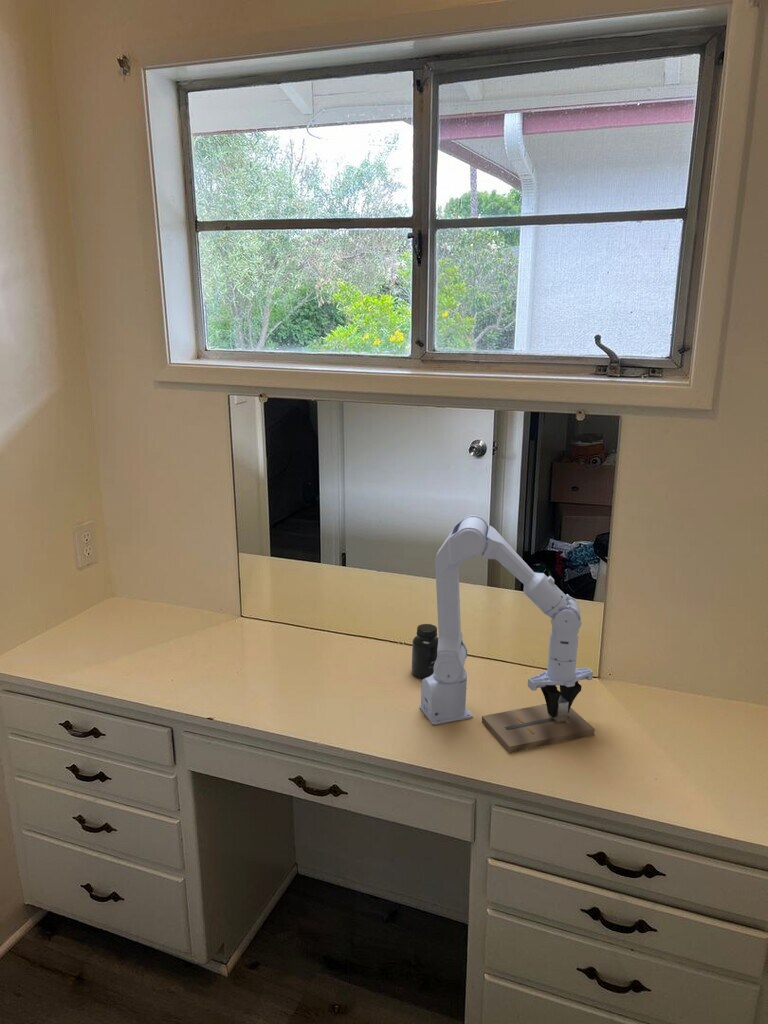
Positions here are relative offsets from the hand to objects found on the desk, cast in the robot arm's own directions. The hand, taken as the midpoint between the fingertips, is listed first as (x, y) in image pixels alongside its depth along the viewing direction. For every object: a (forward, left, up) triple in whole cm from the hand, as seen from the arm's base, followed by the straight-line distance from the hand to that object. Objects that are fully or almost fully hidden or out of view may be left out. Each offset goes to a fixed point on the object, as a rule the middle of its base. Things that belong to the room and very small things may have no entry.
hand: (557, 713), depth 157 cm
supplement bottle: (-18, +30, -3) cm, 35 cm away
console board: (-5, 0, -3) cm, 5 cm away
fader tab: (0, 0, -1) cm, 1 cm away
